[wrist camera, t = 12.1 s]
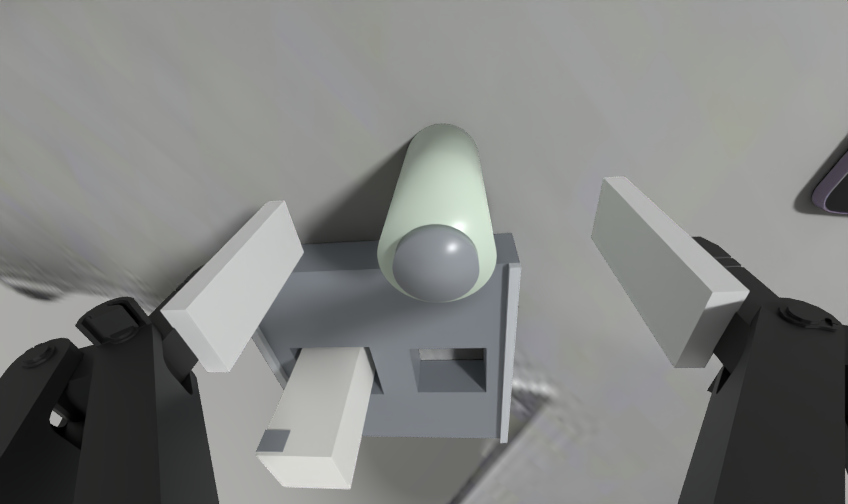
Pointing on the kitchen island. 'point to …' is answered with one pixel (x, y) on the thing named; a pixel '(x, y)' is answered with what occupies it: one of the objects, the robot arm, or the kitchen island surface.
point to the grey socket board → (402, 340)
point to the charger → (320, 419)
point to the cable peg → (438, 220)
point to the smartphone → (834, 189)
